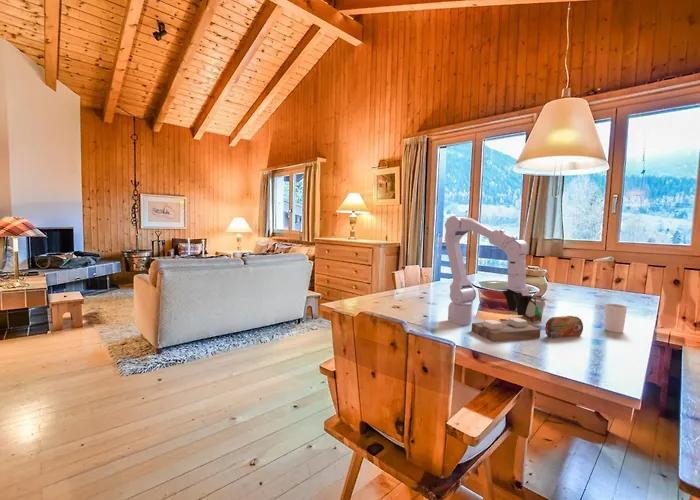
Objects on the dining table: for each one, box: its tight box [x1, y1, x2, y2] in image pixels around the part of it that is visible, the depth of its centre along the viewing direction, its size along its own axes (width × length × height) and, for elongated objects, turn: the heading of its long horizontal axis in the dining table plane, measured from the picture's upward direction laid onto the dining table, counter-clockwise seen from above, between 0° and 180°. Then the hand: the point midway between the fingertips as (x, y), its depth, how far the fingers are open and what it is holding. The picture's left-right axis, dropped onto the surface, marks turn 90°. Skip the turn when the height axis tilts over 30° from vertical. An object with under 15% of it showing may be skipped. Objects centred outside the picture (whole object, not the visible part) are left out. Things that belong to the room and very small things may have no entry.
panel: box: [471, 319, 542, 343], centre depth 128 cm, size 12×20×4 cm, turn 106°
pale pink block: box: [483, 319, 502, 330], centre depth 126 cm, size 4×4×3 cm
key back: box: [508, 317, 528, 328], centre depth 129 cm, size 4×4×3 cm
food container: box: [522, 295, 546, 324], centre depth 147 cm, size 12×6×10 cm, turn 179°
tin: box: [544, 315, 584, 340], centre depth 126 cm, size 15×3×8 cm, turn 105°
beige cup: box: [604, 302, 628, 334], centre depth 137 cm, size 7×7×10 cm
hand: (516, 312), depth 122 cm, fingers open, 7 cm apart
